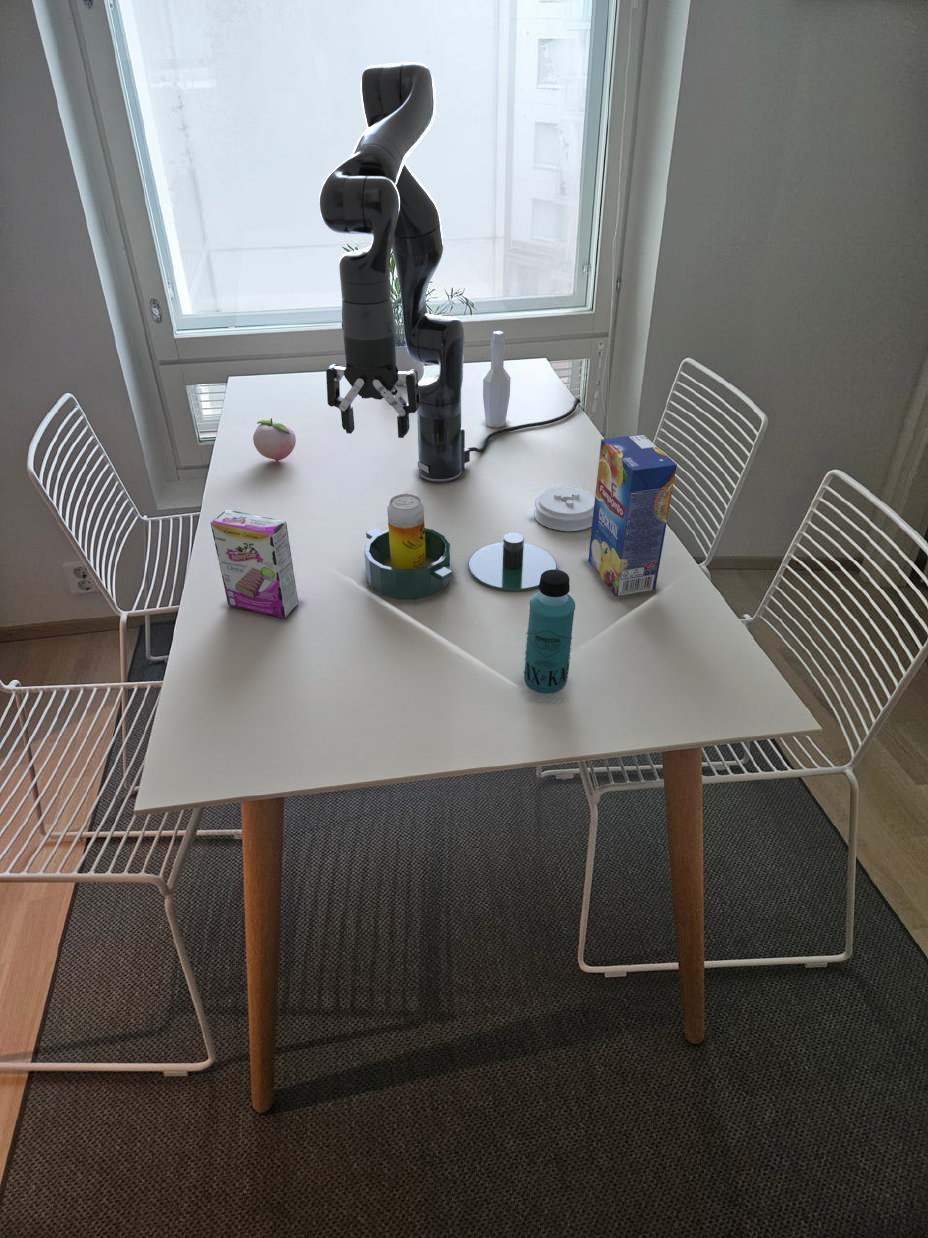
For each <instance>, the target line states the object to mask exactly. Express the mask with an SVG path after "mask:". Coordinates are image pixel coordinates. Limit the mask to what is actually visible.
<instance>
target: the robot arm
mask: <svg viewBox="0 0 928 1238" xmlns="http://www.w3.org/2000/svg"><path fill="white" fill-rule="evenodd" d="M360 95H361V96H360V97H361V104H362V108H363V109H362V110H363V115H364V119H365V123H366V128H367V129H366V130H365V131H364V132H363V133H362V135H361V136H360V137H359V138H358V140H357V143H356V144H355V146H354V149H353V151H352V153H351V155H350V157H348V158H347V159H346V160H344V161H343V162H342V163H340V164H339V165H338V166H337V167H335V168H334V169H333V170H332V171H331V172H330V173H329V174H328V176H327V177H326V178H325V180H324V182H323V184H322V187H321V190H320V193H319V198H318V199H319V200H318V203H319V204H318V205H319V212H320V217H321V218H322V220H323V222H324V224H325V226H327V228H328V229H330V230H331V231H333V232H335V233H337V234H344V235H346V234H347V235H371V236H372V241H371V243H370V244H371V245H370V246H368V247H366V248H362V249H358V250H354V251H353V250H352V251H349V252H347V253H344V254H343V255H342V256H341V257H340V259H339V266H338V267H339V269H338V270H339V281H340V289H341V290H340V291H341V302H342V303H341V329H342V336H343V346H344V357H345V367H344V366H339V365H338V364H337V363H332V364H331V365H330V366H329V367H328V368H327V369H326V371H325V375H326V376H325V377H326V399H327V400H326V401H327V405H328V406H329V407H330V408H331V407H335V408H337V409H339V411H340V416H341V426H342V429H343V430H345V433H346V434H350V435H351V434H352V433H353V432H355V418H354V417H355V415H354V406H352V403H353V402H354V400H355V399H356V398H357V396H359V397H361V399H375V400H378V401H379V400H380V401H382V400H383V399H384V400H385V401H386V403H387V404H388V405H389V406H391V407H392V408H393V409H394V411H395V412H396V413H397V416H396V421H397V424H396V425H397V437H398V438H399V439H404V437H405V436H406V435H407V434H408V433H409V431H410V414H415V413H416V422H417V423H416V425H417V426H416V427H417V428H416V429H417V451H418V452H417V453H418V461H417V468H418V475H419V477H420V478H421V479H422V480H425V481H428V482H430V483H431V482H432V483H449V482H452V481H456V480H457V479H459V478H460V477H461V476H462V474H463V472H465V471H466V467H465V466H466V464H467V463H469V462H471V461H470V460H471V459H470V458H471V457H470V455H471V452H476V453H482V452H484V451H485V449H486V447H487V445H488V442H489V440H490V439H492V438H493V437H496V436H497V435H500V434H505V433H507V432H508V433H509V432H513V431H517V430H522V429H526V428H534V427H541V426H546V425H551V424H553V423H555V422H559V421H561V420H564V419H566V418H567V417H569V416H571V415H572V414H573V413H574V412H575V410H576V409H577V407H578V404H581V402H582V401H581V399H580V398H578V397H577V398H575V399H574V402H573V405H572V407H571V409H570V410H569V411H567V412H566V413H563V414H562V415H560V416H558V417H554V418H551V419H546V420H543V421H538V422H531V423H524V424H519V425H514V426H510V427H505V428H502V429H498V430H496V431H495V430H494V432H490V433H489V434H488V435H487V436H486V437H485V438H484V440H483V442H482V445H481V447H480V448H478V447H475V446H472V447H466V445H465V444H466V439H465V438H466V431H465V429H464V428H462V387H463V382H464V381H463V380H464V360H465V359H464V357H465V340H466V339H465V329H464V326H463V323H462V321H461V320H460V319H459V318H456V317H453V316H452V317H451V316H445V315H437V314H430V313H429V312H428V309H427V302H426V292H427V291H428V290H427V289H428V286H429V284H430V282H431V280H432V278H433V276H434V275H435V272H436V271H437V268H438V266H439V264H440V262H441V259H442V255H443V252H444V240H443V232H442V225H441V218H440V213H439V209H438V207H437V204H436V203H435V201H434V199H433V198H432V197H431V195H430V193H428V191H427V190H426V189H425V187H424V186H423V184H422V183H421V182H420V181H419V179H418V178H417V177H416V176H415V175H414V173H413V172H412V171H411V169H410V168H409V167H408V165H407V163H406V160H407V158H408V157H409V156H410V154H411V153H412V152H413V151H414V150H415V148H416V147H417V145H418V144H419V143H420V142H421V140H422V139H423V137H424V136H425V135H426V134H427V132H428V131H429V130H430V129H431V127H432V125H433V122H434V119H435V115H436V107H437V106H436V104H437V103H436V102H437V101H436V99H437V98H436V88H435V82H434V78H433V75H432V73H431V71H430V69H429V68H428V67H427V66H426V64H423V63H422V62H421V63H420V62H413V61H412V62H409V61H408V62H397V63H385V64H377V65H376V64H375V65H370V66H367V67H365V69H363V71H362V74H361V79H360ZM391 255H392V256H393V261H394V264H395V270H396V275H397V281H398V287H399V294H400V302H401V314H402V324H403V337H404V343H405V348H406V351H407V354H408V356H409V358H410V359H411V360H412V361H414V362H416V363H420V364H426V365H431V366H437V367H439V374H438V373H437V374H434V375H429V376H427V377H424V378H422V379H420V380H419V373H418V371H417V370H416V369H415V368H412V369H410V371H400V370H399V369H398V366H397V351H396V350H397V349H396V333H395V332H396V331H395V330H396V329H395V314H394V307H393V302H392V288H391V286H392V285H391ZM343 377H344V378H345V380H346V381H347V382H348V383H349V385H350V386H351V388H349V390H348V391H347V394H346V395H345V396H344V397H342V396H341V386H340V381H341V380H342V379H343ZM398 381H400V382H401V383H402V385H403V387H404V388H406V396H407V400H406V399H405V397H403V394H402V391H401V390H400V389H399V387H398V386H397V385H396V384H397V383H398Z"/></svg>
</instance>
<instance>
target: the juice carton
mask: <svg viewBox="0 0 928 1238" xmlns="http://www.w3.org/2000/svg"><path fill="white" fill-rule="evenodd" d="M677 467H678V464H677V463H676V462H675V461H674V460H672V458H670V456H668V455H667V454H666V453H665V452H664V451H662V450H661V449H660V448H659V447H658V446H657V445H655V444H654V443H653V442H652V441H651V440H650V439H649V438H648V437H646V435H644V434H643V433H641V434H634V435H626V436H619V437H618V436H617V437H609V438H601V439H600V448H599V457H598V466H597V476H596V484H595V493H594V497H595V502H594V511H593V521H592V526H591V531H590V540H589V550H588V557H587V561H588V562H589V563H590V565H591V566H592V567H593V569H594V570H595V571H596V572H597V574H598V575H599V577H600V578H601V579H602V581H603V582H604V583H605V584H606V585H607V587H608V588H609V589H610V591H611V592H612V593H613V595H614V596H615V597H618V596H624V595H630V594H635V593H642V592H646V591H647V592H648V591H652V590H656V587H657V581H658V577H659V570H660V564H661V558H662V552H663V547H664V541H665V536H666V529H667V524H668V518H669V513H670V507H671V500H672V495H673V489H674V483H675V479H676V478H675V477H676V472H677Z"/></svg>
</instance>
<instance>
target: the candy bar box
mask: <svg viewBox="0 0 928 1238" xmlns="http://www.w3.org/2000/svg"><path fill="white" fill-rule="evenodd" d="M209 524H210V528H211V532H212V537H213V542H214V547H215V551H216V556H217V560H218V564H219V570H220V574H221V578H222V584H223V588H224V592H225V596H226V603H227V606H229V607H233V608H236V609H242V610H246V611H250V612H254V613H260V614H263V615H268V616H272V617H276V618H282V619H286V618H287V617H288V616H289V615H290V614H291V612H292V611H293V610H294V609H295V608H296V607H297V606H298V605H299V597H298V592H297V591H298V590H297V585H296V578H295V577H296V576H295V571H294V564H293V558H292V557H293V556H292V552H291V544H290V536H289V531H288V524H287V521H286V520H282V519H276V518H272V517H266V516H261V515H257V514H252V513H247V512H241V511H238V510H237V511H236V510H232V509H227V508H226V509H225V510H224V511H222V513H220V514H219V515H218V516H216V518H214V519H213V520H211V522H209Z"/></svg>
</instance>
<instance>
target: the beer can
mask: <svg viewBox="0 0 928 1238" xmlns="http://www.w3.org/2000/svg"><path fill="white" fill-rule="evenodd" d="M388 502H389V503H388V505H387V508H386V509H387V525H388V529H389V541H390V557H391V559H390V567H392V568H397V569H414V568H419V567H424V566H427V558H426V553H425V528H426V525H425V506H424V503H423V501H422V499H421V497H419V496H418V495H416V494H411V493H401V494H396V495H394V496H392V497H391V498H390V499H389V501H388Z"/></svg>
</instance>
